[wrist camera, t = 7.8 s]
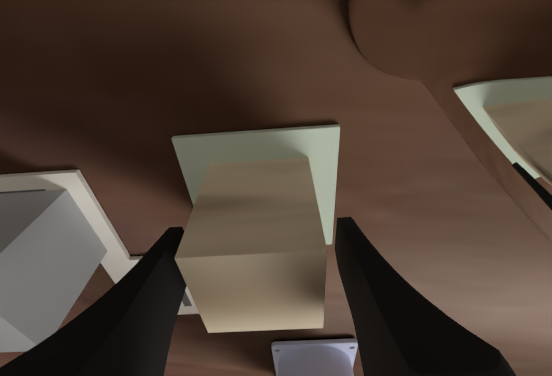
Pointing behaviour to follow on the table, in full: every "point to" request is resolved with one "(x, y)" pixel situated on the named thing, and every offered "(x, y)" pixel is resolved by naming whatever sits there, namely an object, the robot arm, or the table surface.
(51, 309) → the grey block
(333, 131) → the mat
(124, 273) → the tile
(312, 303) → the maple block
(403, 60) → the silver metal cup
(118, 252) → the tile
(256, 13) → the table surface
